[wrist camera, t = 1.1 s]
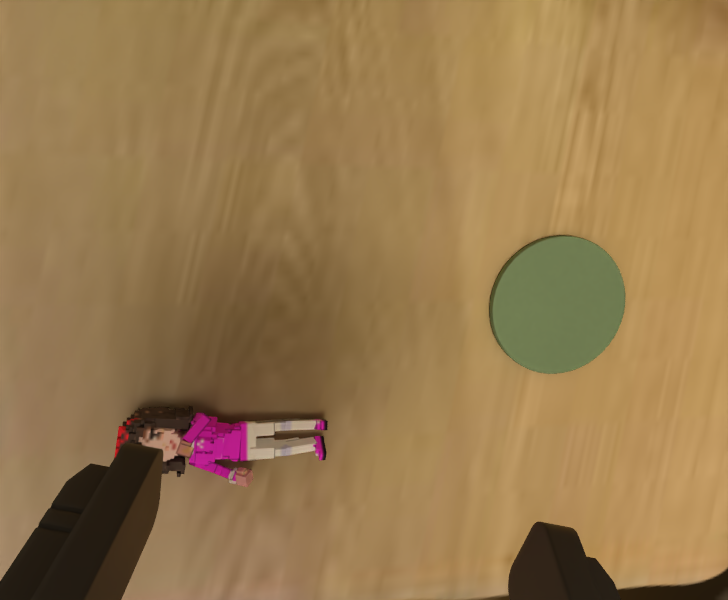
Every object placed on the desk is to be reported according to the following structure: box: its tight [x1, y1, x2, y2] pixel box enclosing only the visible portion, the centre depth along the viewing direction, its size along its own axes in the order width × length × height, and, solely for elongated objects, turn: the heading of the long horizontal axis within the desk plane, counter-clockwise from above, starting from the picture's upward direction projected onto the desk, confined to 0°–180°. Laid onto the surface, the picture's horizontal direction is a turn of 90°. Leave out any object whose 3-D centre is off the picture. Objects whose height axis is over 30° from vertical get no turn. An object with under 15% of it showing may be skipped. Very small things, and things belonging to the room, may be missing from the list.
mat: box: [490, 235, 625, 374], centre depth 36 cm, size 9×9×1 cm
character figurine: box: [115, 406, 327, 487], centre depth 33 cm, size 6×5×12 cm
